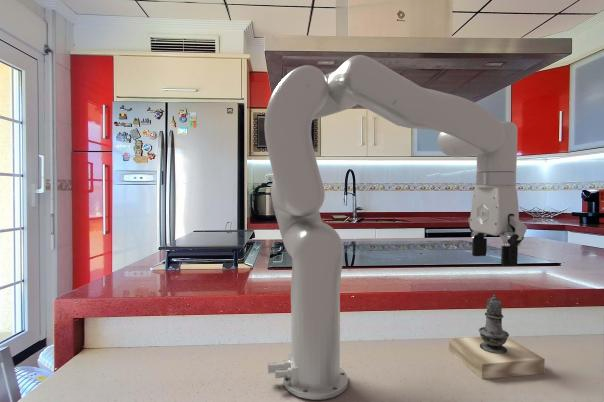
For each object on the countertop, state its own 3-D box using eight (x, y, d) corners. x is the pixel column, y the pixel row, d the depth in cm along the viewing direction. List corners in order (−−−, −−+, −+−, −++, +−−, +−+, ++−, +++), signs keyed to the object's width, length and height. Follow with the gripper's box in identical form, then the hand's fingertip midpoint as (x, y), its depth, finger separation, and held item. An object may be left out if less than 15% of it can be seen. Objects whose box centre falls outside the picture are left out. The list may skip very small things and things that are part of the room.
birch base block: (481, 378, 73) (482, 364, 73) (448, 351, 85) (449, 338, 85) (544, 373, 75) (544, 358, 75) (503, 347, 87) (503, 334, 87)
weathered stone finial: (512, 355, 77) (514, 299, 76) (482, 353, 78) (483, 297, 77) (503, 343, 82) (504, 290, 82) (475, 341, 84) (476, 289, 83)
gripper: (456, 181, 87) (454, 253, 87) (508, 180, 70) (505, 270, 70) (485, 181, 88) (483, 252, 89) (543, 181, 71) (540, 269, 71)
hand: (493, 260), depth 79 cm, fingers open, 9 cm apart
